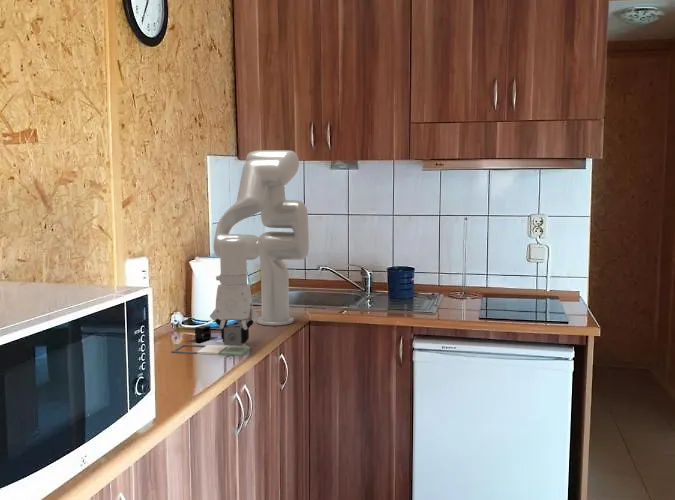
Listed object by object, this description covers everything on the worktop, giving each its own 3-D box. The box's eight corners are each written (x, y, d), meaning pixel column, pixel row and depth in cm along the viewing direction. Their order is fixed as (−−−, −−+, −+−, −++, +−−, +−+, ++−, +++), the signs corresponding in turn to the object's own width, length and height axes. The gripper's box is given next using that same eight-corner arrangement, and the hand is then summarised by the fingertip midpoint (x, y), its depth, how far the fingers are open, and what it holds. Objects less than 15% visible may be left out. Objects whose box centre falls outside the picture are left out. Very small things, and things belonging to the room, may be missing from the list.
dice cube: (240, 345, 200) (240, 328, 199) (224, 345, 201) (223, 328, 200) (246, 341, 205) (246, 325, 204) (230, 340, 206) (229, 324, 205)
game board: (182, 345, 210) (182, 343, 210) (250, 348, 206) (250, 346, 206) (171, 352, 202) (171, 350, 202) (241, 356, 198) (241, 353, 198)
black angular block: (198, 346, 211) (197, 331, 211) (180, 343, 215) (179, 329, 214) (224, 338, 222) (224, 324, 221) (207, 335, 226) (206, 321, 225)
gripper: (201, 281, 198) (202, 343, 200) (258, 283, 195) (259, 346, 197) (210, 277, 206) (212, 337, 208) (266, 278, 203) (267, 339, 205)
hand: (235, 341), depth 203 cm, fingers closed on dice cube, 5 cm apart
